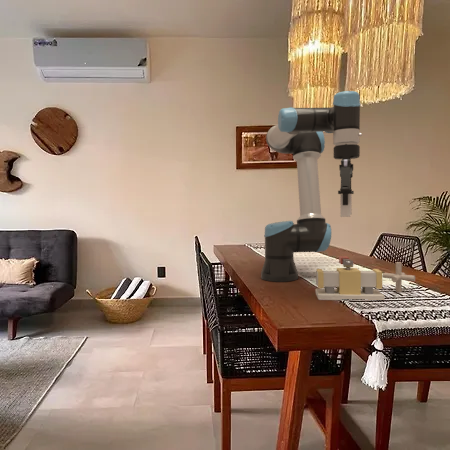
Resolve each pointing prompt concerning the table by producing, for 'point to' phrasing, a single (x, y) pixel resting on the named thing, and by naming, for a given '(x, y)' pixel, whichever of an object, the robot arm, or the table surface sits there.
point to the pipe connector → (398, 277)
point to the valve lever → (345, 261)
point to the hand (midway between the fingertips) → (346, 215)
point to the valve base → (349, 284)
